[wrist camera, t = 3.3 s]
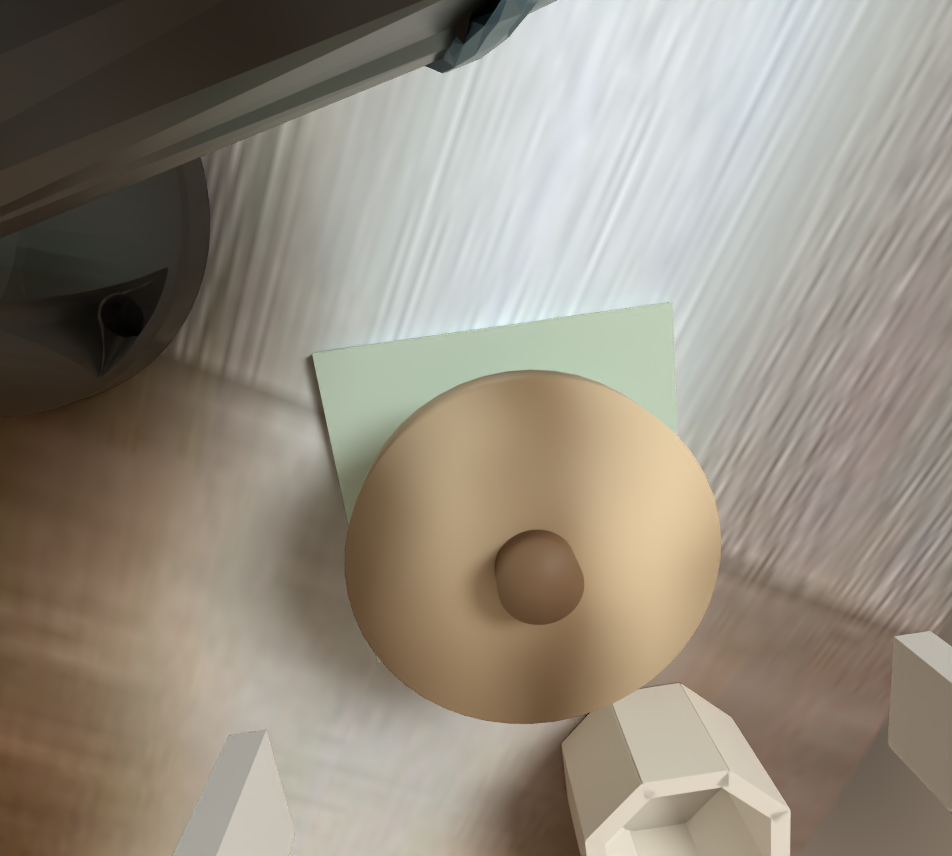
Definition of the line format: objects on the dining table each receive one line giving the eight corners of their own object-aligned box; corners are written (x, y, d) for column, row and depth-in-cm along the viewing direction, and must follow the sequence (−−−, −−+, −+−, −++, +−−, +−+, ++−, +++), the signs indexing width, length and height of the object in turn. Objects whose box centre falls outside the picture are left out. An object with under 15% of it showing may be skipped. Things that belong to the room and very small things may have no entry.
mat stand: (378, 657, 26) (365, 731, 22) (314, 352, 23) (284, 371, 19) (682, 612, 27) (727, 677, 22) (668, 302, 23) (718, 310, 19)
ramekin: (572, 837, 30) (596, 946, 25) (556, 701, 28) (579, 793, 23) (733, 812, 30) (789, 916, 25) (731, 675, 28) (791, 760, 23)
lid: (386, 705, 22) (377, 776, 19) (322, 397, 19) (298, 423, 16) (700, 658, 22) (741, 722, 19) (689, 345, 19) (736, 360, 16)
